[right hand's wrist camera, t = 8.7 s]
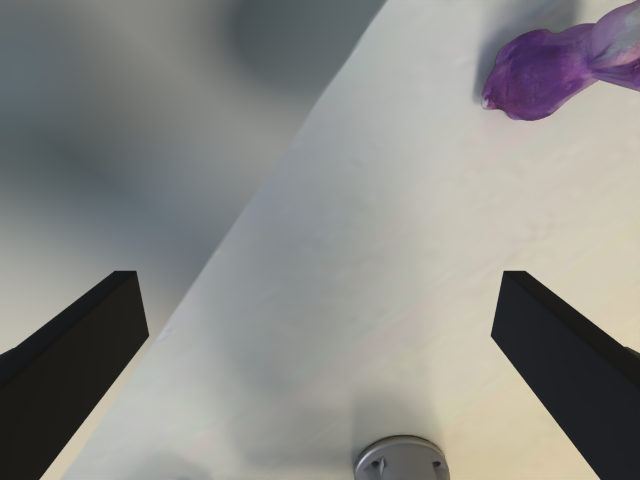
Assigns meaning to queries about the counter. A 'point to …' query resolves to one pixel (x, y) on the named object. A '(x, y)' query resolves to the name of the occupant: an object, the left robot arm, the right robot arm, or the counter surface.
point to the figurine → (564, 64)
